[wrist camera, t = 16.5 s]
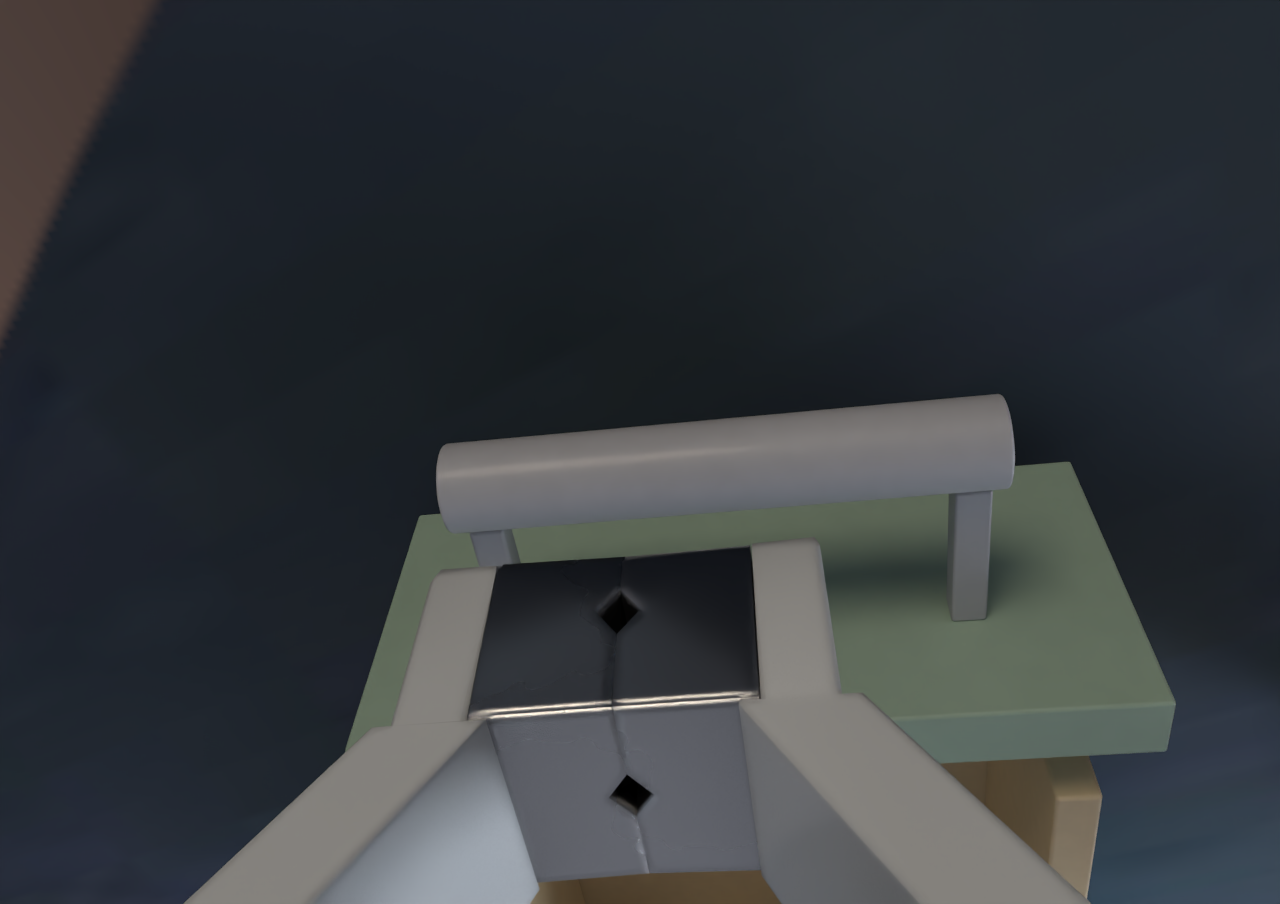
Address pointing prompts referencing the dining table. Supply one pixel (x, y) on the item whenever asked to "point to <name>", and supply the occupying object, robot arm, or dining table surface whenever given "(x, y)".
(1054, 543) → the drawer
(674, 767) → the robot arm
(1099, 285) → the dining table surface
